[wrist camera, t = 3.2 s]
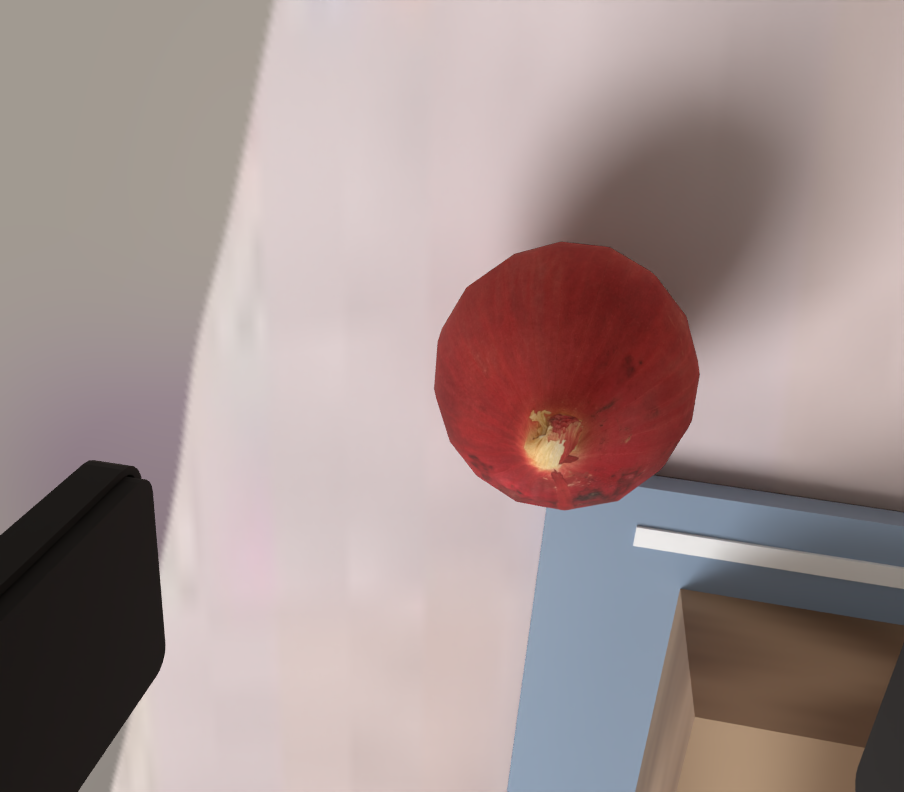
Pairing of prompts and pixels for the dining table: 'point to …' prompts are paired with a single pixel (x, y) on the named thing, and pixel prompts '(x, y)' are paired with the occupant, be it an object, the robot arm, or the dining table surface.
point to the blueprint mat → (671, 607)
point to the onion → (566, 376)
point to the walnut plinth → (765, 697)
